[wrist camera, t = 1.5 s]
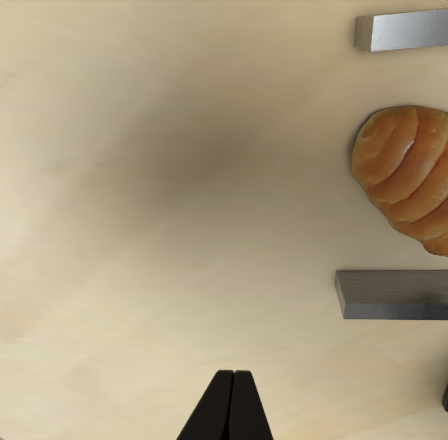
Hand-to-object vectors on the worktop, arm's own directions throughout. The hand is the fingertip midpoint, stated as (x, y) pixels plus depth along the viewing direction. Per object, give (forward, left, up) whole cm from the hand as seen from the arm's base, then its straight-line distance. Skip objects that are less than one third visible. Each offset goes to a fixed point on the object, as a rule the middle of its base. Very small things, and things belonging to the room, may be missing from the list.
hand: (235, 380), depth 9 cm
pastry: (0, -10, -14) cm, 17 cm away
